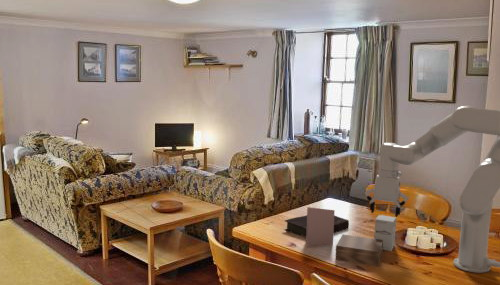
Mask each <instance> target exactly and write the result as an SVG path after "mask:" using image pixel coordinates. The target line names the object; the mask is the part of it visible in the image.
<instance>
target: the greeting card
mask: <svg viewBox="0 0 500 285" xmlns="http://www.w3.org/2000/svg"><path fill="white" fill-rule="evenodd" d="M306 215H307V232H306V237H305V238H306V239H305V242H307V243H306V244H307V246H306V247H307V248H316V247H324V246H325V247H326V246H327V247H328V246H334V234H335V233H334V215H335V210H334V209H326V208H325V209H324V208H316V207H307V209H306Z"/></svg>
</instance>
